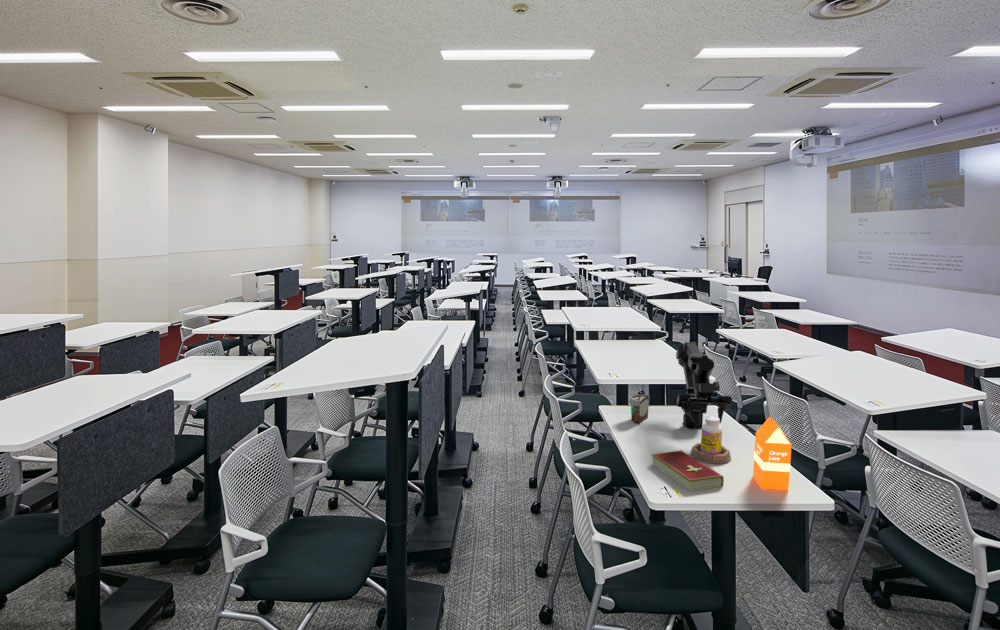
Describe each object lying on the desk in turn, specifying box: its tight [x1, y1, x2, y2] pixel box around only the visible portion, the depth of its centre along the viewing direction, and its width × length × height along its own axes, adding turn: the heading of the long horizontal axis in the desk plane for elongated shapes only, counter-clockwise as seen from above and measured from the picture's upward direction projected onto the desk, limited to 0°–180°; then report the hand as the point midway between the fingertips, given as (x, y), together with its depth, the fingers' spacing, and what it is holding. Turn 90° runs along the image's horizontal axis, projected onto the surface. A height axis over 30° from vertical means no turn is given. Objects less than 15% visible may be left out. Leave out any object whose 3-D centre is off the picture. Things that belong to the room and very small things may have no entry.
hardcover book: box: [650, 450, 725, 491], centre depth 170 cm, size 12×21×4 cm, turn 16°
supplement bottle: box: [700, 415, 723, 455], centre depth 184 cm, size 7×7×13 cm
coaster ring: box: [690, 442, 732, 465], centre depth 185 cm, size 13×13×3 cm
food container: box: [629, 393, 651, 425], centre depth 223 cm, size 12×6×10 cm, turn 145°
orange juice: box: [752, 416, 793, 492], centre depth 163 cm, size 8×9×20 cm
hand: (706, 422), depth 192 cm, fingers open, 9 cm apart
